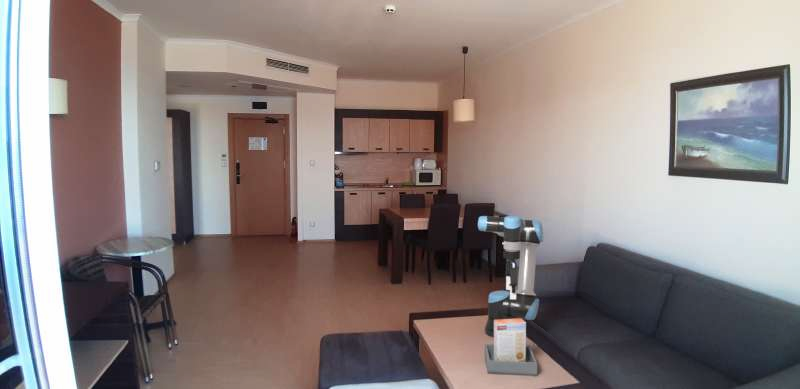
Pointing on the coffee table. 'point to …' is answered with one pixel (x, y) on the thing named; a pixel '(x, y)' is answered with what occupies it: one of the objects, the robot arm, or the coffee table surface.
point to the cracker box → (510, 340)
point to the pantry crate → (510, 364)
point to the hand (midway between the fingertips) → (510, 294)
